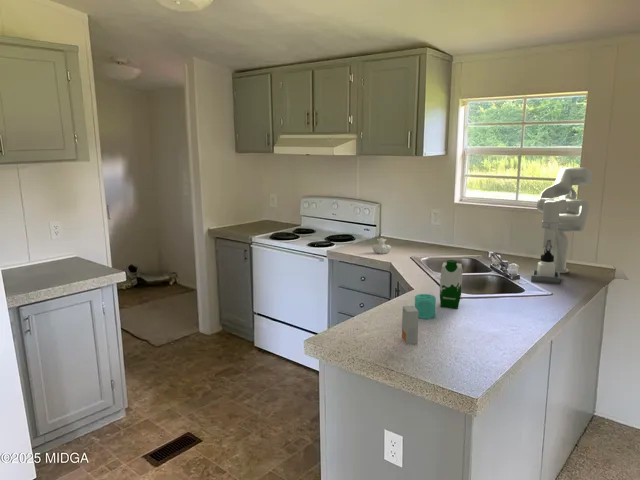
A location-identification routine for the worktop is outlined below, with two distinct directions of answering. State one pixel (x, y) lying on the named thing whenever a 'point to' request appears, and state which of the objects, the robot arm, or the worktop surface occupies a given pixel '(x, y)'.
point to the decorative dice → (425, 306)
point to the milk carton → (450, 284)
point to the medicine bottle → (546, 267)
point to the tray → (545, 278)
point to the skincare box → (410, 325)
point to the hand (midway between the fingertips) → (547, 258)
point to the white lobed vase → (381, 247)
